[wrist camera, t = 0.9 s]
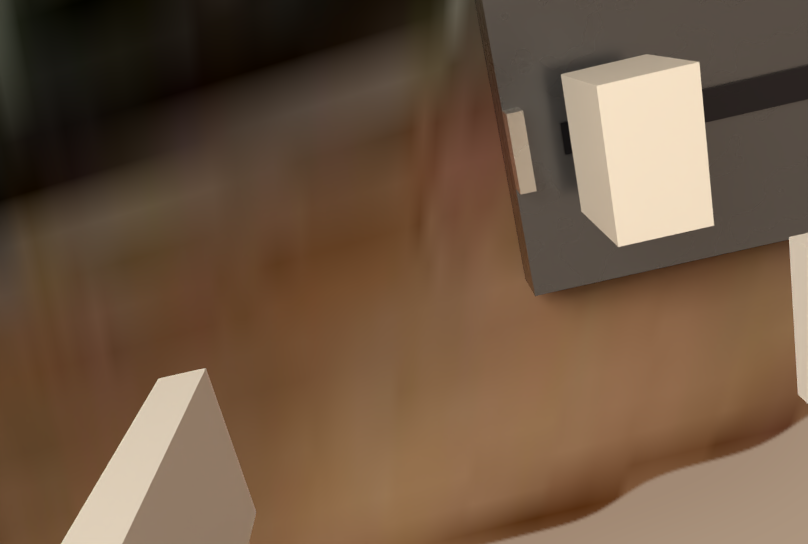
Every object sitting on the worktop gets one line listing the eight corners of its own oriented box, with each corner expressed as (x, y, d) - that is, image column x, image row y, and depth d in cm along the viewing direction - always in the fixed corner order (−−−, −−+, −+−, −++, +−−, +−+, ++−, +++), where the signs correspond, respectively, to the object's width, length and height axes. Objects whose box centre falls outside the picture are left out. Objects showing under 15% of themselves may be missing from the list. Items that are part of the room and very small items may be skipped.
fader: (574, 204, 28) (618, 246, 23) (554, 71, 27) (596, 85, 22) (652, 187, 28) (714, 225, 23) (637, 52, 27) (699, 61, 22)
